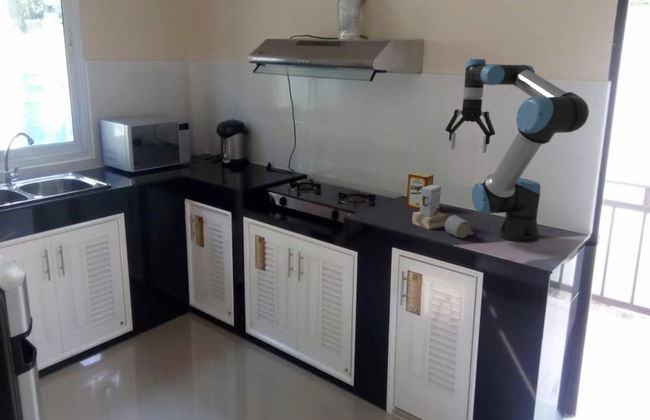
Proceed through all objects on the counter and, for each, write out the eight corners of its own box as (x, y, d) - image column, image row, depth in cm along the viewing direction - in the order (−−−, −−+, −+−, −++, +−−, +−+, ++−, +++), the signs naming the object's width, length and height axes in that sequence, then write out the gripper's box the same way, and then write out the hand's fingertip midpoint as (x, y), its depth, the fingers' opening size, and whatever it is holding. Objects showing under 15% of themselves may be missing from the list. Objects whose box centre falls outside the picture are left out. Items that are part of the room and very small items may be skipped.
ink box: (429, 211, 236) (431, 184, 233) (439, 213, 233) (441, 185, 230) (419, 215, 229) (420, 187, 226) (429, 217, 226) (431, 189, 223)
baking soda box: (431, 207, 259) (433, 174, 254) (424, 210, 254) (427, 176, 249) (413, 204, 264) (415, 171, 260) (406, 206, 259) (408, 173, 255)
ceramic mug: (456, 240, 214) (458, 221, 212) (443, 234, 221) (445, 215, 219) (477, 237, 219) (480, 218, 216) (463, 231, 226) (466, 213, 223)
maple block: (445, 226, 232) (446, 215, 230) (428, 230, 226) (429, 218, 225) (429, 220, 240) (430, 209, 238) (411, 223, 234) (412, 212, 233)
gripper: (506, 99, 220) (500, 152, 225) (447, 96, 233) (443, 146, 239) (500, 100, 214) (495, 154, 219) (440, 97, 227) (436, 148, 233)
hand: (468, 150), depth 229 cm, fingers open, 13 cm apart
